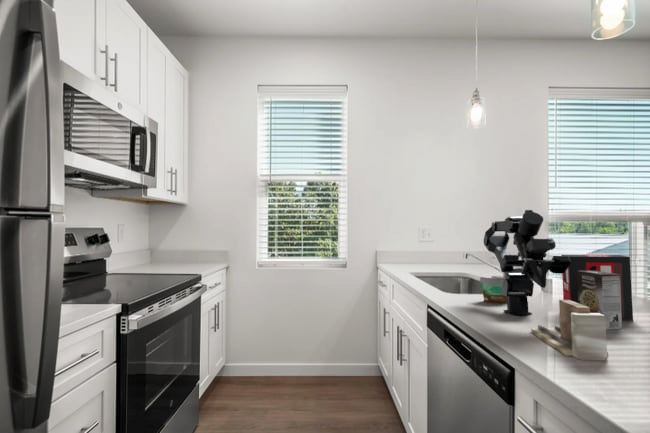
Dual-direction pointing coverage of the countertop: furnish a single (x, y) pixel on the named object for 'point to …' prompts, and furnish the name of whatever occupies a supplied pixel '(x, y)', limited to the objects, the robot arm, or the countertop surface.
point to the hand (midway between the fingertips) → (543, 286)
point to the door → (569, 316)
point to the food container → (493, 290)
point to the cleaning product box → (603, 264)
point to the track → (579, 337)
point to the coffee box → (601, 295)
